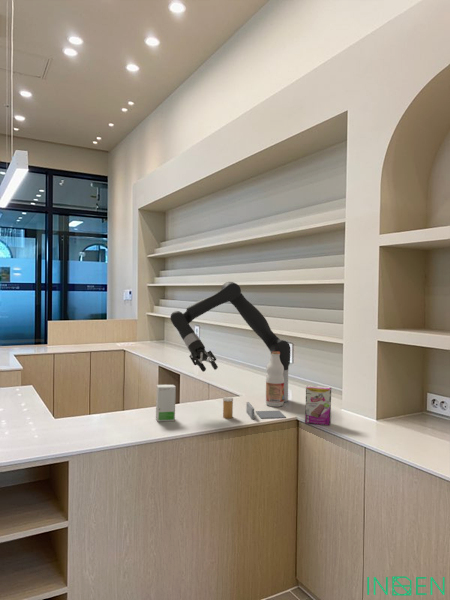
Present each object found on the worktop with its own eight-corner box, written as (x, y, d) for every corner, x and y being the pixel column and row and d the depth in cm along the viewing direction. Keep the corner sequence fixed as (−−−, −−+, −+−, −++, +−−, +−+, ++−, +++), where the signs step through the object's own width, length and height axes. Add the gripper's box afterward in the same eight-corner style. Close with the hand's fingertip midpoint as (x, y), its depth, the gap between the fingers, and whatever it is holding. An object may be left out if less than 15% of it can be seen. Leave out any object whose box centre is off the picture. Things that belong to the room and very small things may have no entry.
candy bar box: (304, 423, 200) (305, 387, 199) (305, 420, 204) (306, 385, 204) (330, 426, 197) (331, 389, 196) (331, 422, 201) (331, 386, 201)
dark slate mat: (255, 411, 219) (255, 411, 219) (279, 411, 221) (279, 410, 221) (261, 418, 207) (261, 417, 207) (286, 417, 209) (286, 417, 209)
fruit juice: (262, 403, 236) (263, 350, 235) (277, 402, 240) (278, 350, 240) (271, 407, 227) (272, 353, 227) (287, 406, 231) (287, 352, 231)
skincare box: (157, 422, 199) (157, 387, 199) (155, 418, 206) (155, 384, 206) (175, 420, 202) (176, 386, 202) (173, 417, 208) (173, 383, 208)
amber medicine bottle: (222, 416, 211) (222, 397, 211) (232, 415, 212) (232, 396, 211) (223, 418, 206) (223, 399, 206) (233, 418, 207) (233, 399, 207)
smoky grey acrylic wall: (246, 412, 218) (246, 402, 218) (248, 412, 218) (248, 401, 218) (251, 419, 205) (251, 408, 205) (254, 419, 206) (254, 408, 205)
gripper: (188, 340, 216) (205, 366, 209) (207, 338, 227) (224, 363, 219) (180, 350, 219) (196, 376, 212) (199, 347, 230) (216, 372, 223)
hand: (210, 369), depth 216 cm, fingers open, 8 cm apart
